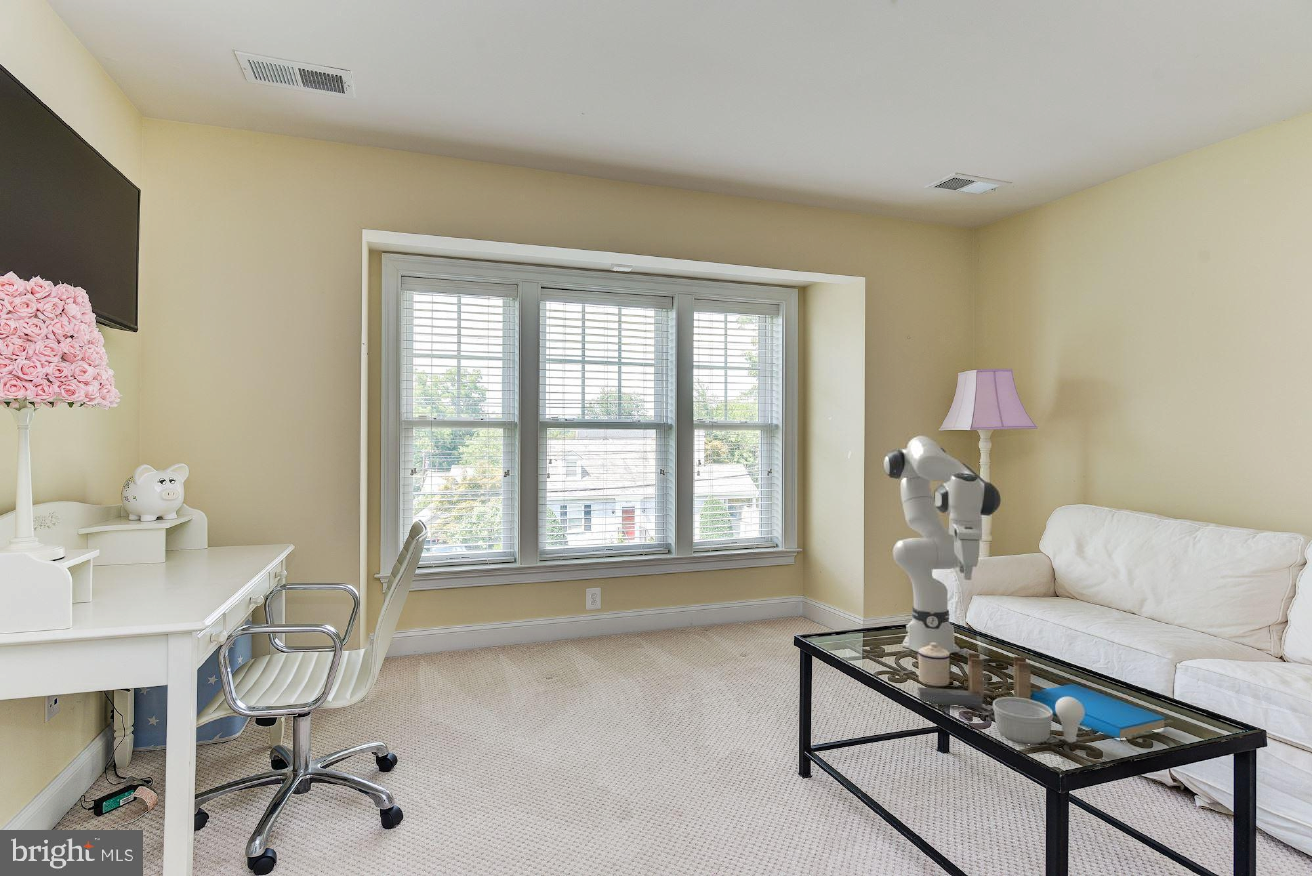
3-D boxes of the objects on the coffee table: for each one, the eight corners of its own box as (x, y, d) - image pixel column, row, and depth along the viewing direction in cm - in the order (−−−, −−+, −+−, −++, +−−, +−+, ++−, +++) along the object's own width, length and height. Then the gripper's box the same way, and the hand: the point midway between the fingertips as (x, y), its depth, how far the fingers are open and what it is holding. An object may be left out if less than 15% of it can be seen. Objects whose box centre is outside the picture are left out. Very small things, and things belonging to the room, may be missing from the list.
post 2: (1013, 695, 193) (1013, 656, 193) (1025, 696, 192) (1025, 657, 192) (1018, 703, 187) (1018, 662, 187) (1030, 704, 186) (1030, 663, 186)
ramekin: (1012, 747, 161) (1012, 718, 161) (982, 724, 174) (981, 697, 174) (1065, 745, 162) (1065, 716, 162) (1030, 722, 175) (1030, 695, 175)
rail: (918, 699, 191) (917, 687, 191) (978, 704, 188) (978, 691, 188) (920, 704, 188) (920, 691, 188) (982, 709, 184) (981, 696, 184)
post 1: (968, 691, 197) (968, 652, 197) (979, 692, 196) (979, 653, 196) (971, 699, 191) (971, 658, 191) (983, 700, 190) (983, 659, 190)
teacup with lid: (956, 685, 201) (956, 646, 201) (930, 688, 199) (930, 649, 199) (931, 671, 213) (931, 635, 213) (906, 674, 211) (905, 637, 211)
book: (1072, 683, 193) (1165, 715, 170) (1072, 698, 193) (1166, 732, 170) (1029, 691, 187) (1119, 726, 164) (1029, 707, 187) (1120, 744, 163)
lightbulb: (1050, 740, 164) (1050, 696, 164) (1063, 735, 168) (1063, 690, 168) (1076, 750, 159) (1076, 704, 159) (1089, 744, 162) (1089, 699, 162)
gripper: (949, 523, 208) (949, 568, 208) (958, 533, 189) (958, 582, 189) (971, 524, 206) (971, 569, 207) (983, 534, 187) (983, 584, 187)
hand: (965, 576), depth 197 cm, fingers open, 8 cm apart
